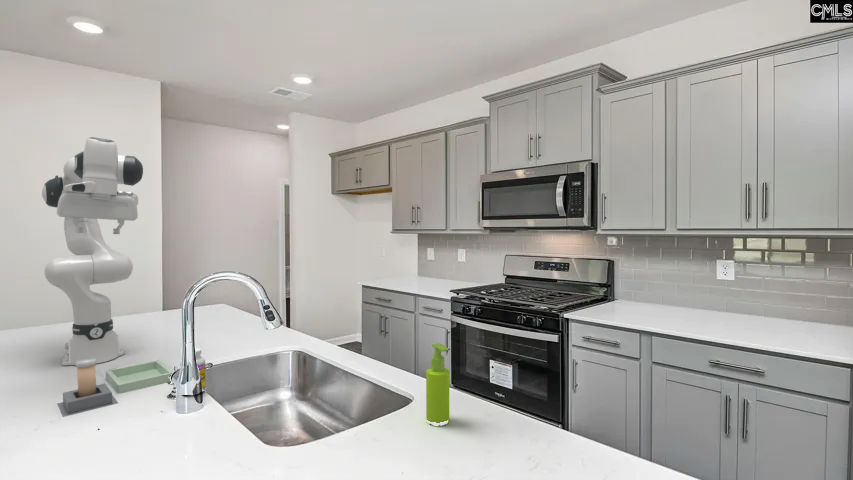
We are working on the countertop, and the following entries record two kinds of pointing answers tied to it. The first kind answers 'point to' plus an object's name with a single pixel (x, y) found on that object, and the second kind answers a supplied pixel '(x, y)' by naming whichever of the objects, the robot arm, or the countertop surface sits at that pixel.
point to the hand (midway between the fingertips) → (98, 233)
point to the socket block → (86, 401)
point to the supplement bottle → (200, 366)
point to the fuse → (86, 377)
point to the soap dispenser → (437, 387)
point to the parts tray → (138, 376)
